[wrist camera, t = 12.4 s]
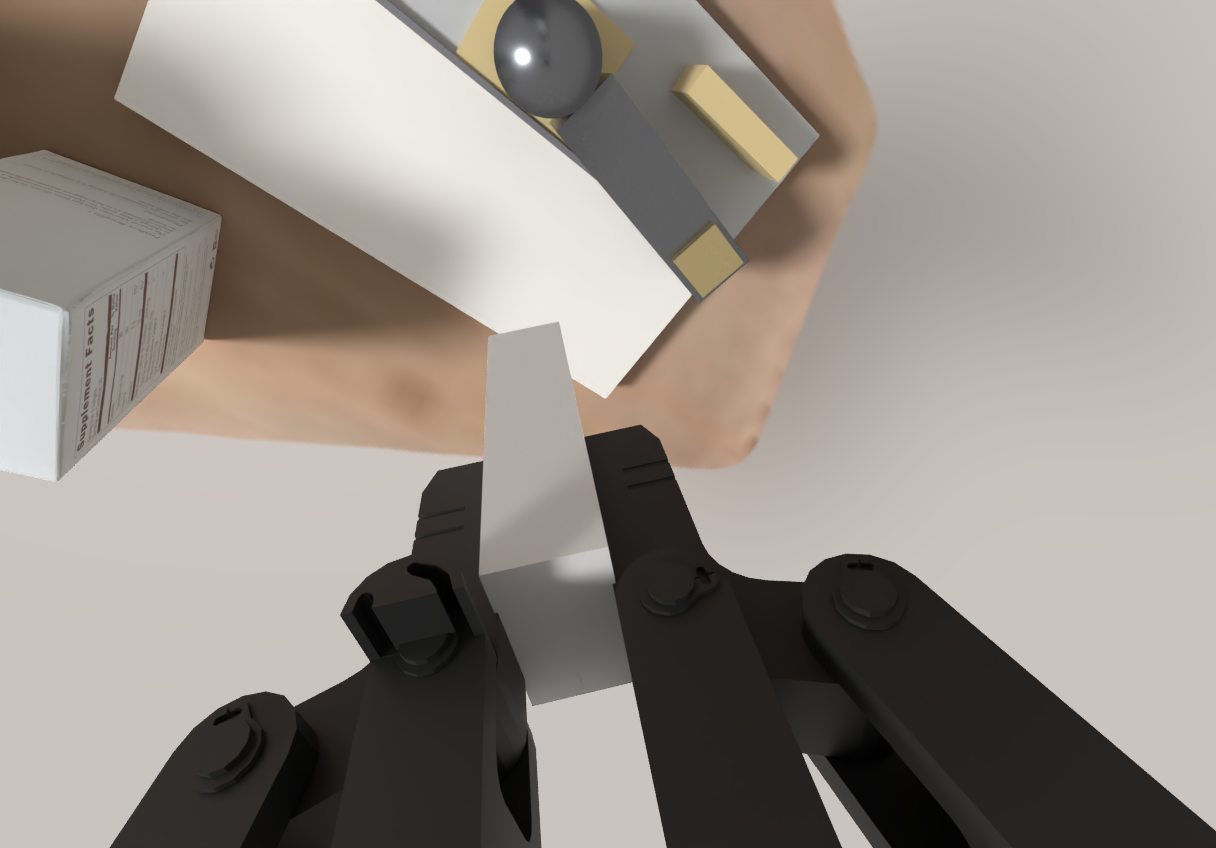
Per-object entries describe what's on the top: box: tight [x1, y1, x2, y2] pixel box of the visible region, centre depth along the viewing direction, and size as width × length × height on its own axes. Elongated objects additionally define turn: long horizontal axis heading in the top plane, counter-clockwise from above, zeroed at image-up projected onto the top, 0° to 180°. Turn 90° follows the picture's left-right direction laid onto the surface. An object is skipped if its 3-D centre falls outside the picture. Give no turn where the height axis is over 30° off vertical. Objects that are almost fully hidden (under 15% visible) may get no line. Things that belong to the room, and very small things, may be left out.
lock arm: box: [493, 0, 749, 303], centre depth 25 cm, size 14×4×5 cm, turn 41°
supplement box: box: [0, 150, 222, 482], centre depth 23 cm, size 7×7×13 cm
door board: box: [114, 0, 820, 399], centre depth 26 cm, size 18×26×4 cm
